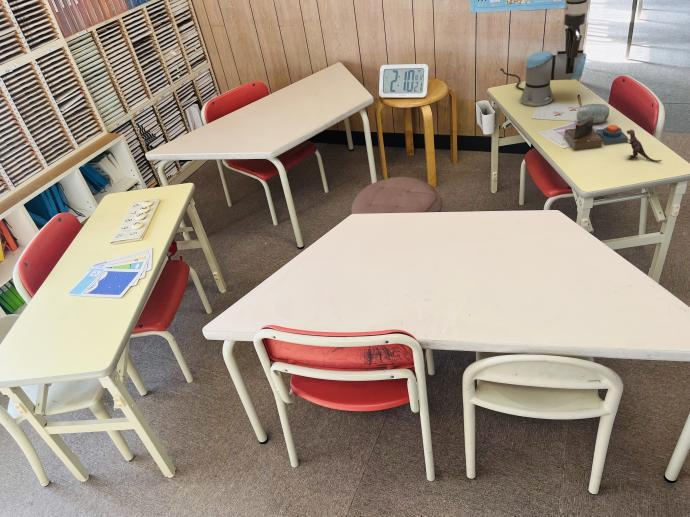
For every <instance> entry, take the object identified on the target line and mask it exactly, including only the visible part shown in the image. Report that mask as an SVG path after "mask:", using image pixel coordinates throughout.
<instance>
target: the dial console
mask: <svg viewBox="0 0 690 517" xmlns="http://www.w3.org/2000/svg"><path fill="white" fill-rule="evenodd" d="M597 133H601V132H597ZM597 133H596V130H595V129H594V127H593V128H592V131H591V132H589V133H588V134H586V135H584V136H583V137H581V138H580V139H575V138H574V136H575V127H573V128H566V129H564V135H563V138H564V139H565V140H566V141H567V143H568V144H569V146H570V147H571V148H572V150H573V151H574V152H575V151H583V150H585V151H586V150H593V149H600V148H602V146H603V142H602V139H601V138H600V136H599V135H598V134H597Z"/></svg>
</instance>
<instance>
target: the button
mask: <svg viewBox="0 0 690 517" xmlns="http://www.w3.org/2000/svg"><path fill="white" fill-rule="evenodd" d="M607 127H608V129H607V131H609V132H617V131H618V127H619V126H618V125H617V124H609V125H608V126H607Z"/></svg>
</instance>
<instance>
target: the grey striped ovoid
mask: <svg viewBox="0 0 690 517" xmlns="http://www.w3.org/2000/svg"><path fill="white" fill-rule="evenodd" d="M575 117H576V120H577V122H578V123H580V122H582V121H583V120H585V119H587V118H588V117H593V118H594V120H593V124H600V123H601V124H602V123H604V122H606V121H607V120H608V118H609V117H610V108H609V106H608V105H607V104H604V103H588V104H584V105H581V106H580V107H579V108H578V109H577V111H576V115H575Z"/></svg>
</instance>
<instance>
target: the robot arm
mask: <svg viewBox="0 0 690 517" xmlns="http://www.w3.org/2000/svg"><path fill="white" fill-rule="evenodd" d="M587 4H588V0H564V8H563V20H562V21H563V22H562V30H561V31H562V32H561V35H562V36H561V42H560V43H561V44H560V47H559V48H558V49H557V51H556V52H557V53H556V54H553V52H552V51H549V50H542V51H538V52H534V53H532V54H531V55H529V56H528V57H527V58H526V65H525V83H524V84H525V85H524V88H523V87H521V86H519V84H520V83H521V81H522V80H521V77H520V76H519V75H517V74H513V73H508V72H505V70H504V68H500V69H499V71H500V72H502V73H503V74H504V75H506V76H510V77H515V78H517V79H518V81H517V83H516V84H517V85H516V84H515V87H516V88H517V89H518V90H521V91H522V93H521V96H520V103H521V104H523V105H525V106H529V107H542V106H546V105H548V104H550V103H552V102H553V92H552V91H553V90H552V88H551V81H573V80H579V79H581V77H582V76H583V72H584V69H585V64H586V58H587V53H585V52H584V48H583V46H581V44H582V38H583V35H582V34H583V25H584V24H585V21H586V12H587Z"/></svg>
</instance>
